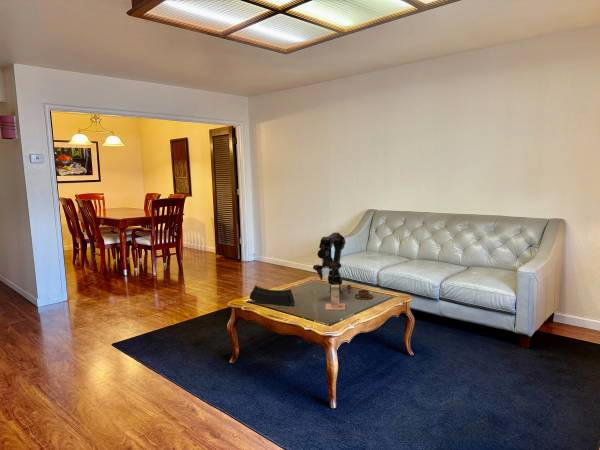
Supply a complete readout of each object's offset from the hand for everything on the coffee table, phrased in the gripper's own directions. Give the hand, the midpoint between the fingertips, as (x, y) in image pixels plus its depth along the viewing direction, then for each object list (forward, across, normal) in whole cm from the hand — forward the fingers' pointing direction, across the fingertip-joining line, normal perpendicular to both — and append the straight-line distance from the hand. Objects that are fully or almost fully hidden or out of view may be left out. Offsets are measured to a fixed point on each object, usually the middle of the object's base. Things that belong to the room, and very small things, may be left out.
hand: (327, 279), depth 273 cm
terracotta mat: (+13, -6, -19) cm, 24 cm away
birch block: (+13, -6, -19) cm, 23 cm away
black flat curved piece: (+13, -37, +7) cm, 40 cm away
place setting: (+14, +23, -7) cm, 27 cm away
